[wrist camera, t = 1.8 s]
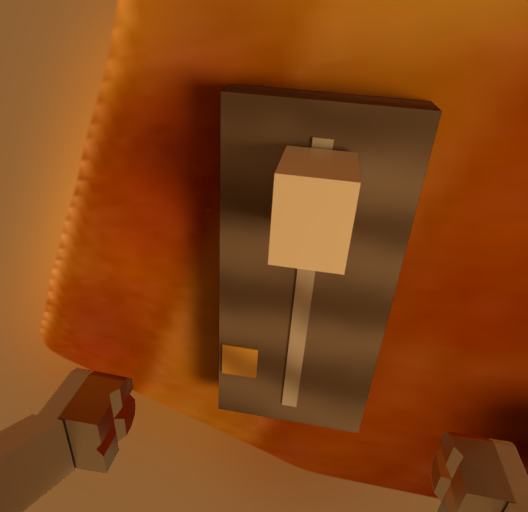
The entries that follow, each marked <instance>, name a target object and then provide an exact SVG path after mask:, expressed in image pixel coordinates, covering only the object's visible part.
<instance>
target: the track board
mask: <svg viewBox="0 0 528 512" xmlns="http://www.w3.org/2000/svg"><path fill="white" fill-rule="evenodd" d="M441 112H442V111H441V110H440V109H439V108H438V107H437V106H436V105H435V104H434V103H433V102H432V101H420V100H409V99H398V98H386V97H375V96H363V95H352V94H340V93H329V92H318V91H306V90H295V89H283V88H272V87H260V86H249V85H238V84H232V85H230V86H229V87H227V88H226V89H224V90H222V91H221V135H220V281H219V409H224V410H230V411H235V412H241V413H247V414H253V415H258V416H264V417H270V418H275V419H281V420H287V421H293V422H298V423H304V424H310V425H315V426H321V427H327V428H333V429H338V430H344V431H350V432H356V433H358V432H359V428H360V424H361V420H362V417H363V413H364V409H365V405H366V401H367V397H368V393H369V390H370V386H371V382H372V378H373V374H374V370H375V366H376V363H377V359H378V355H379V351H380V347H381V343H382V340H383V336H384V332H385V328H386V324H387V320H388V316H389V313H390V309H391V305H392V301H393V297H394V293H395V289H396V286H397V282H398V278H399V274H400V270H401V266H402V262H403V259H404V255H405V251H406V247H407V243H408V239H409V235H410V232H411V228H412V224H413V220H414V216H415V212H416V209H417V205H418V201H419V197H420V193H421V189H422V185H423V182H424V178H425V174H426V170H427V166H428V162H429V158H430V155H431V151H432V147H433V143H434V139H435V135H436V131H437V128H438V124H439V120H440V116H441ZM287 145H288V146H298V147H307V148H317V149H327V150H337V151H346V152H356V153H358V160H359V170H360V179H361V185H360V191H359V196H358V202H357V207H356V213H355V218H354V224H353V229H352V235H351V240H350V246H349V251H348V257H347V262H346V268H345V273H344V275H341V274H334V273H326V272H319V271H312V270H304V269H297V268H289V267H282V266H274V265H268V255H269V241H270V228H271V214H272V201H273V187H274V174H275V171H276V169H277V167H278V164H279V162H280V160H281V157H282V155H283V153H284V150H285V148H286V146H287Z"/></svg>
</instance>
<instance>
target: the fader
mask: <svg viewBox="0 0 528 512" xmlns="http://www.w3.org/2000/svg"><path fill="white" fill-rule="evenodd" d="M360 185H361V179H360V170H359V160H358V153H356V152H346V151H337V150H327V149H317V148H307V147H298V146H288V145H287V146H286V148H285V150H284V153H283V155H282V157H281V160H280V162H279V164H278V167H277V169H276V171H275V174H274V187H273V201H272V214H271V228H270V241H269V255H268V265H274V266H282V267H289V268H297V269H304V270H312V271H319V272H326V273H334V274H341V275H344V273H345V268H346V262H347V257H348V251H349V246H350V240H351V235H352V229H353V224H354V218H355V213H356V207H357V202H358V196H359V191H360Z"/></svg>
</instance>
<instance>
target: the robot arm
mask: <svg viewBox="0 0 528 512" xmlns="http://www.w3.org/2000/svg"><path fill="white" fill-rule="evenodd" d="M132 389H133V384H132V379H131V378H127V377H122V376H117V375H112V374H107V373H102V372H97V371H91V370H86V369H81V368H76V369H74V370H73V371H72V372H70V374H69V375H68V376H67V377H66V379H65V380H64V381H63V383H62V384H61V385H60V387H59V388H58V389H57V390H56V392H55V393H54V394H53V395H52V397H51V398H50V399H49V401H48V402H47V403H46V405H45V406H44V407H43V408H42V410H41V411H40V412H39V414H38V415H33V414H32V415H30V416H28V417H26V418H24V419H22V420H21V421H19V422H17V423H15V424H13V425H11V426H10V427H8V428H6V429H4V430H2V431H0V512H23V511H24V510H25V509H27V508H28V507H29V506H30V505H32V504H33V503H34V502H36V501H37V500H38V499H39V498H40V497H42V496H43V495H44V494H46V493H47V492H48V491H49V490H51V489H52V488H53V487H54V486H56V485H57V484H58V483H59V482H61V481H62V480H63V479H64V478H66V477H67V476H68V475H69V474H71V473H72V472H73V471H74V470H75V468H78V469H84V470H90V471H96V472H102V473H107V472H108V470H109V468H110V466H111V464H112V462H113V460H114V458H115V457H116V455H117V453H118V451H119V448H118V441H119V440H120V439H122V438H123V437H125V436H126V435H127V433H128V431H129V429H130V427H131V425H132V422H133V418H134V415H135V399H134V398H133V397H132V396H131V395H130V393H131V391H132ZM441 445H442V449H441V450H440V451H438V452H436V453H435V456H434V459H433V462H432V472H431V474H432V484H433V490H434V493H435V494H436V495H437V497H438V498H439V499H440V500H441V505H440V506H439V509H438V512H528V475H527V473H526V470H525V468H524V465H523V463H522V461H521V458H520V456H519V454H518V451H517V449H516V446H515V445H514V444H513V443H512V442H509V441H503V440H497V439H491V438H487V437H480V436H474V435H467V434H461V433H455V432H448V431H447V432H445V433H444V434H443V436H442V439H441Z"/></svg>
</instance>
